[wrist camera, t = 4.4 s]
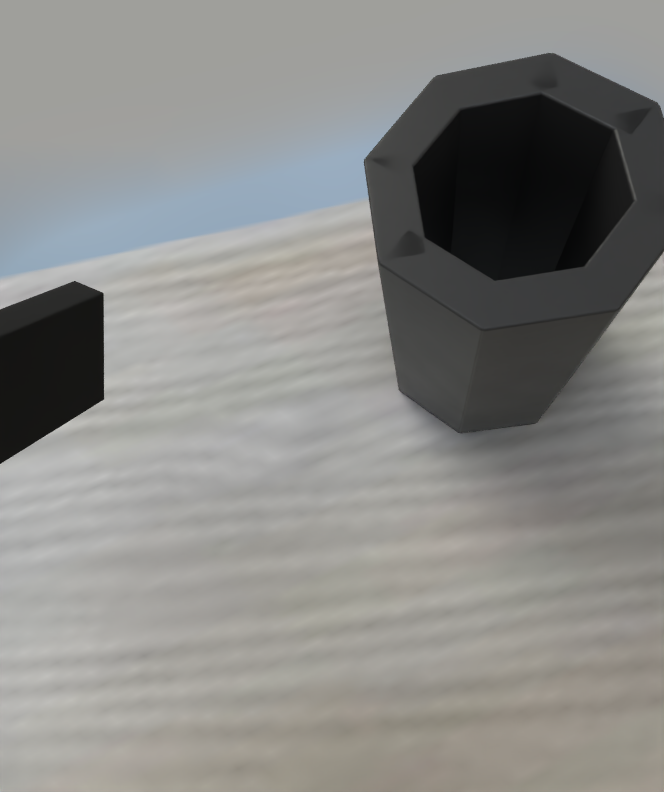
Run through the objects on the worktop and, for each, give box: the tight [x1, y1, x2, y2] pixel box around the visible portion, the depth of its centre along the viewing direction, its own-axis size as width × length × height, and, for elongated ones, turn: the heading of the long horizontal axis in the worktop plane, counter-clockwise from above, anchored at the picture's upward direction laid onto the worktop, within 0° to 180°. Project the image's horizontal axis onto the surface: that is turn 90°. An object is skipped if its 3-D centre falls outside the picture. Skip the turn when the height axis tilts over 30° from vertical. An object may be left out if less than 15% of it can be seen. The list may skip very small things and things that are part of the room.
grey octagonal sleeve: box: [364, 53, 664, 433], centre depth 20 cm, size 7×7×11 cm
